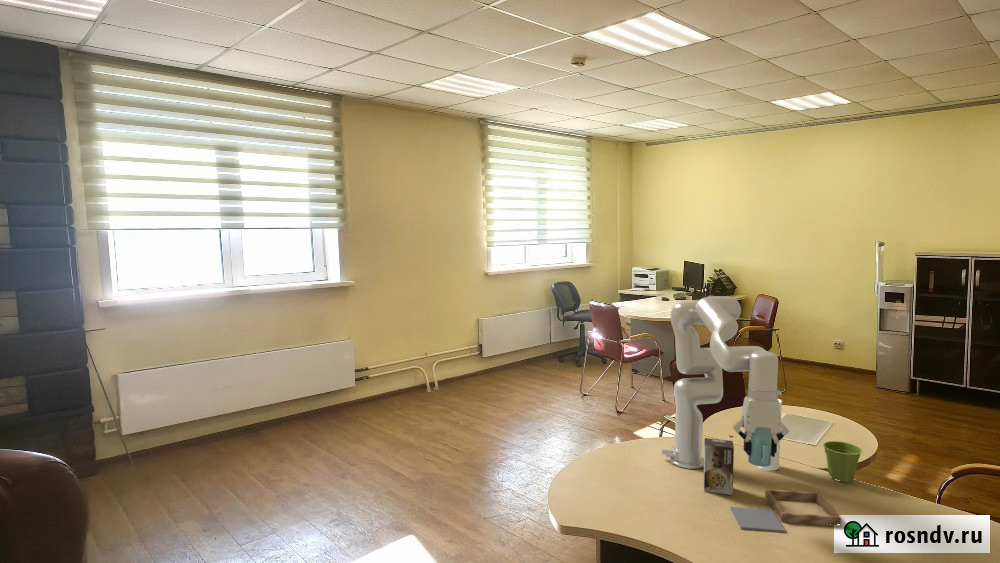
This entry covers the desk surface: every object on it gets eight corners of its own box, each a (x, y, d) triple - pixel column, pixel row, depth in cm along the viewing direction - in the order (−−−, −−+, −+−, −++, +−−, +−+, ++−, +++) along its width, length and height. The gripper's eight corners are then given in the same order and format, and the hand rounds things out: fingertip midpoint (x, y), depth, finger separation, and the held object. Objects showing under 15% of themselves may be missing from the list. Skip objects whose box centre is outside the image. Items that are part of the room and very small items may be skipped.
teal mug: (745, 457, 168) (747, 422, 167) (767, 458, 167) (768, 423, 166) (754, 470, 159) (756, 432, 158) (777, 471, 158) (778, 433, 157)
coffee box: (731, 487, 188) (733, 440, 186) (733, 495, 182) (734, 447, 180) (702, 483, 191) (704, 437, 189) (703, 491, 185) (704, 444, 183)
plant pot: (826, 468, 202) (828, 438, 201) (864, 478, 194) (866, 447, 193) (816, 478, 194) (818, 447, 193) (855, 489, 186) (857, 456, 185)
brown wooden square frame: (781, 521, 165) (782, 513, 165) (765, 496, 181) (765, 489, 181) (840, 526, 163) (840, 518, 163) (818, 500, 179) (818, 492, 178)
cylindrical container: (782, 471, 200) (785, 403, 198) (762, 471, 200) (765, 403, 198) (773, 463, 207) (776, 397, 205) (753, 463, 207) (756, 396, 205)
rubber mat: (740, 528, 161) (741, 527, 161) (730, 508, 173) (730, 506, 173) (785, 532, 160) (785, 530, 160) (771, 511, 171) (771, 509, 171)
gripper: (789, 392, 165) (786, 451, 167) (727, 389, 168) (725, 447, 170) (798, 399, 158) (795, 461, 159) (734, 396, 161) (732, 457, 162)
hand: (759, 453), depth 164 cm, fingers closed on teal mug, 6 cm apart
